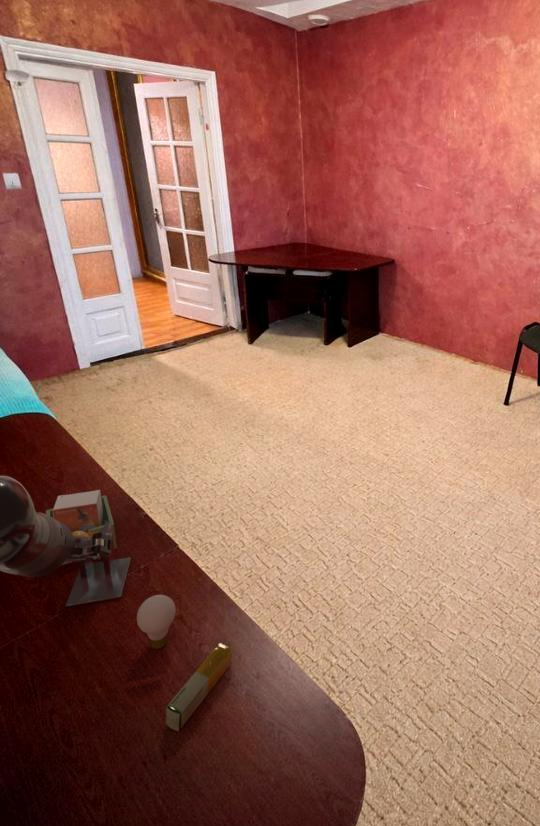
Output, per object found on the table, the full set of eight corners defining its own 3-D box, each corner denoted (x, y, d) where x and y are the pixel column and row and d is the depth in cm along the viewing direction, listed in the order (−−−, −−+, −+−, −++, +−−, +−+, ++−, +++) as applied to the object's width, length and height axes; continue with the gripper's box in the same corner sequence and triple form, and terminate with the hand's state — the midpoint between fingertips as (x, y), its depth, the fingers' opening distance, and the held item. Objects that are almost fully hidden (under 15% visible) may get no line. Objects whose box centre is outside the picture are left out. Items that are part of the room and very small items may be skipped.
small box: (58, 552, 102) (51, 510, 98) (63, 535, 106) (57, 495, 103) (102, 544, 105) (96, 503, 102) (105, 528, 110) (100, 488, 106)
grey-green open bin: (50, 536, 107) (45, 510, 105) (109, 519, 114) (106, 495, 112) (53, 570, 98) (48, 542, 96) (117, 550, 105) (114, 524, 102)
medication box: (178, 734, 70) (178, 716, 69) (164, 725, 71) (163, 707, 70) (232, 663, 81) (233, 647, 80) (218, 656, 82) (219, 640, 80)
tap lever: (85, 552, 80) (86, 529, 81) (60, 555, 79) (61, 533, 80) (106, 546, 93) (107, 527, 94) (85, 549, 92) (86, 529, 93)
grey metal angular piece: (121, 601, 92) (114, 545, 88) (66, 610, 89) (56, 554, 85) (131, 561, 102) (125, 510, 98) (82, 569, 99) (74, 516, 95)
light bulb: (154, 667, 80) (148, 620, 77) (133, 649, 83) (127, 603, 80) (185, 642, 85) (181, 597, 82) (164, 625, 87) (160, 581, 84)
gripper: (-43, 584, 60) (10, 590, 73) (90, 564, 64) (116, 573, 78) (-31, 522, 63) (18, 539, 76) (95, 507, 67) (119, 526, 81)
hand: (68, 556), depth 77 cm, fingers open, 8 cm apart
